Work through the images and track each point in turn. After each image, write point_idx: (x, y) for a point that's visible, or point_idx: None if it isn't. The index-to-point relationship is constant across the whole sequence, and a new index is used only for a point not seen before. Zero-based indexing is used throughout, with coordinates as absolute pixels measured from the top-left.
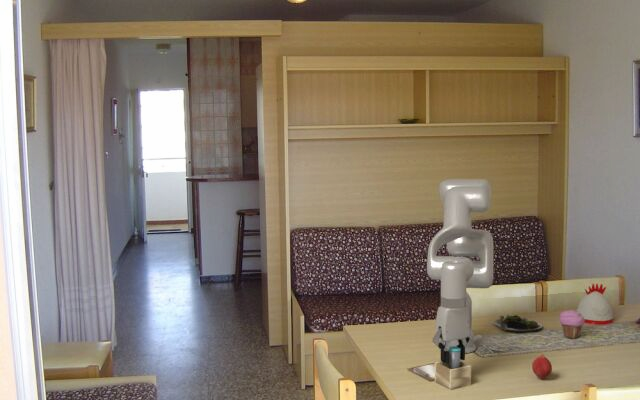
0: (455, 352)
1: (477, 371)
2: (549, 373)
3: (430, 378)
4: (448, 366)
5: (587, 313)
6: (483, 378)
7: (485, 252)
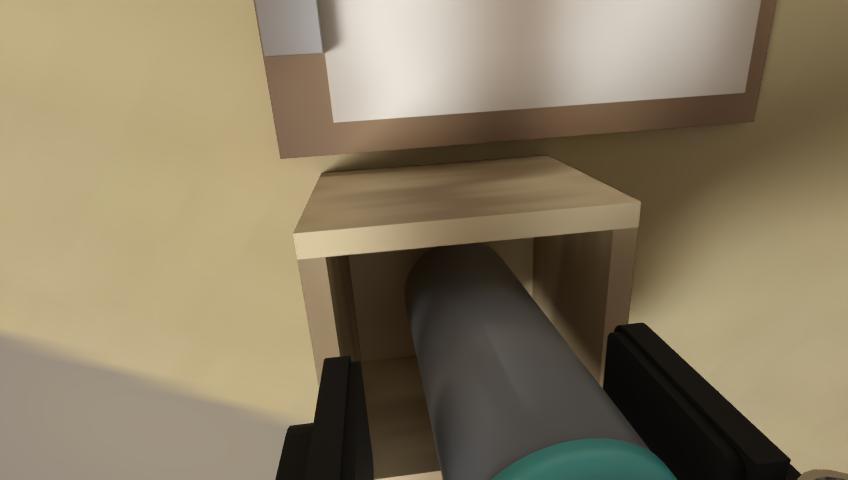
0: None
1: (806, 128)
2: None
3: (308, 113)
4: (418, 344)
5: None
6: (715, 275)
7: None
